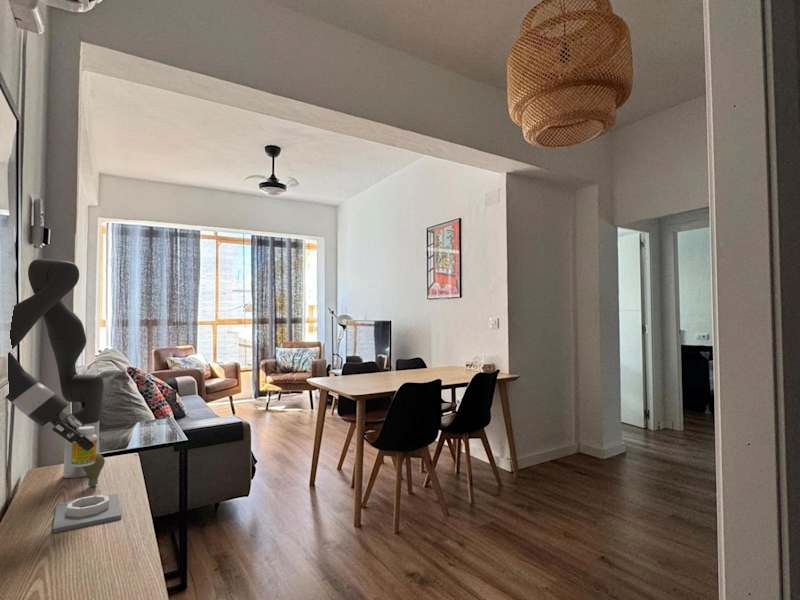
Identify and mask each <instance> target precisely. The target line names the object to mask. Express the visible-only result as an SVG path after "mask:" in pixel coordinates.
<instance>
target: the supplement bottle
mask: <svg viewBox="0 0 800 600" xmlns="http://www.w3.org/2000/svg"><path fill="white" fill-rule="evenodd" d="M79 431H80V432H81V433H82V434H83V435H84V436H85V437H86V438H88V439H89V440H90V441H91V442H93V443H94V447H93V448H91V449H90V450H89V451H86V450H85V449H83V448H82V447H81V446H79V445H78V444H77V443H72V457H71V466H73V467H83V466H88V465H92V464H94V463H95V460H96V446H97V436H96V435H95V434H93V433H94V431H95V427H94V426H84V427H79Z"/></svg>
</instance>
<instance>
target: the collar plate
mask: <svg viewBox="0 0 800 600" xmlns="http://www.w3.org/2000/svg"><path fill="white" fill-rule="evenodd" d="M118 520H122V510H121V506H120V501H119V494H118V493H112V494H108V495H107V494H106V495H101V494H95V495H89V496H84V497H79V498H77V499H75V500H72V501H69V502H62V503H57V504H56V507H55V512H54V518H53V525H52V534H56V533H59V532H60V531H61V532H65V531H64V530H66V531H69V530H75V529H80V528H84V527H89V526H93V525H98V524H103V522H104V523H108V521H109V522H113V521H118ZM74 528H75V529H74Z"/></svg>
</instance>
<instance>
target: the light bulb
mask: <svg viewBox="0 0 800 600" xmlns="http://www.w3.org/2000/svg"><path fill="white" fill-rule="evenodd" d="M105 461H106V460H105V458H104V456H103V454H100V453H99V454H96V460H95V463H94V464H92V465H88V466H83V469H84V471H85V472H86V475H87V476H86V478H87V479H88V480H87V481H88V483H87V484H88V486H89V487H91V488H94V487H96V486H97V485H98V484H99V482H98V481H99V477H100V474H101V472H102V469H103V468H104V467H105V466H104V465H105Z"/></svg>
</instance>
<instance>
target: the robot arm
mask: <svg viewBox="0 0 800 600" xmlns="http://www.w3.org/2000/svg"><path fill="white" fill-rule="evenodd" d="M27 276H28V277H27V278H28V281H29V284H30V287H31V289H32V292H33V295H31V296H30V297H27V298H25V299H24V300H22V301H20V302H19V303H16V304H15V306H14V305H13V306H14V310H13V316H12V322H11V330H10V339H11V345H12V349H13V350H14V349H15V347H17V346H18V345H19V344H20V343H21V342H22V340H24V339H25V337H26V336H27V335H28V333H29V332H30V330H31V329H32V328H33V327H34V325H35V324H36V323H37V322H38V321H39V320H40V319H41V318H43V320H44V323H45V326H46V330H47V334H48V335H47V336H48V339H49V342H50V345H51V349H52V351H53V355H54V359H55V362H56V366H57V372H58V379H59V385H60V389H61V390H60V391H61V394H62V397H63V398H61V397H60V396H59V395H58V394H56V393H55V391H53V390H51V389H50V388H48V386H46V385H44V384H43V383H41V382H40V381H39V380H38V379H36V378H35V377H33V376H32V375H31V374H30V373H29V372H27V371H26V370H25V369H24V367H23V366H22V365H21V364H20V362H19V361H18V360H17V358H16V357H15V356H14V355H13V353H12V352H11V353H10V352H9V353H8V381H9V394H8V395H7V396H6V397H4V398H5V399H7V400H8V401H9V402H10V403H12V404H13V405H14V406H15V407H16V408H17V410H19V411H20V412H21V413H22V414H24V415H25V416H26V417H28V418H29V419H30V420H31V421H33V422H34V423H35V424H37V425H38V426H39V427H45V426H46V425H47V424H48V423H50V424H52V425H53V427H52V431H53V432H55V433H57V434H58V435H59V436H60V437H62V438H64V439H65V440H64V441H65V442H64V458H63V472H62V473H63V476H62V477H63V478H65V479H76V478H83V477H87V475H86V472H85V471H84V469H83V467H73V466H71V457H72V443H77V444H78V445H79V446H81V447H82V448H83V449H85V450H86V451H89V450H90V449H91V448H93V447H94V443H93V442H91V441H90V440H89V439H88V438H86V437H85V436H84V435H83V434H82V433H81V432H80V431H79V427H84V426H94V427H95V431H94V433H93V434H95V435H96V436H97V446H96V454H100V444H101V443H100V441H99V437H100V423H101V422H100V420H101V413H102V408H103V407H102V405H103V397H104V387H105V386H104V385H105V384H104V378H103V377H102V375H100V374H78V372H77V370H76V363H77V361H78V359H79V358H80V356H81V354H82V353H83V352H84V349H85V347H86V344H87V336H86V331H85V327H84V324H83V322H82V320H81V319H80V318H79V316H78V315H77V314H76V313H75V312H74V311H72V309H71V308H69V306H68V305H67V304H66V303H65V302H64V301H63V298H64V297H65V296H66V295H67V294H69V293H70V292H71V291H72V290H73V289H74V288H75V287H76V285H77V284H78V281H79V279H80V270H79V267H78V265H76V263H74V262H72V261H68V260H61V259H60V260H59V259H52V258H37V259H34V260H32V261H31V262H30V264H29V265H28V269H27ZM68 402H69V403H85V404H84V407H83V408H82V409H81V410H78V411H75V412H71V413H69V414H67V413H66V412H64V410H65V409H66V408H68V406H69V404H68Z"/></svg>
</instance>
